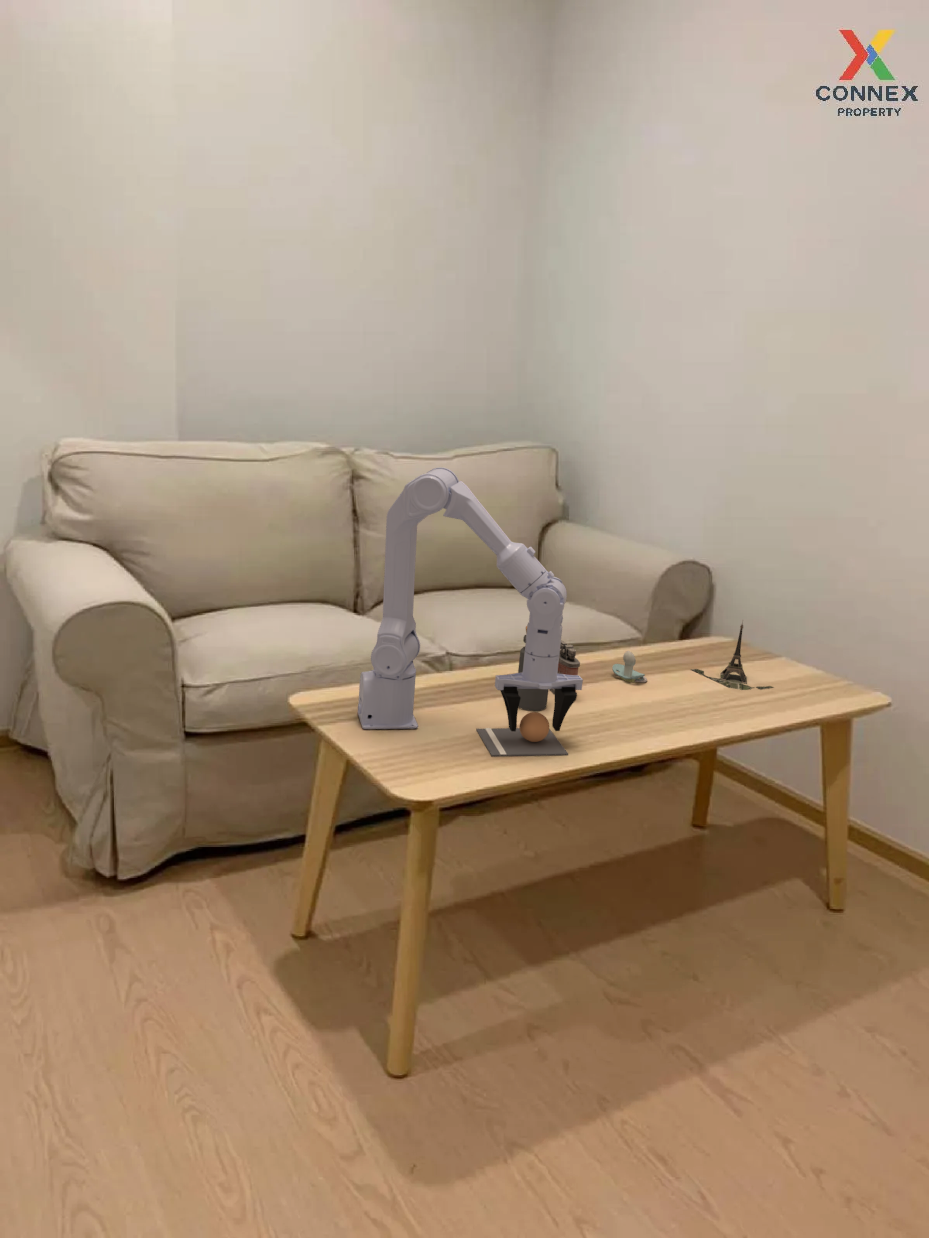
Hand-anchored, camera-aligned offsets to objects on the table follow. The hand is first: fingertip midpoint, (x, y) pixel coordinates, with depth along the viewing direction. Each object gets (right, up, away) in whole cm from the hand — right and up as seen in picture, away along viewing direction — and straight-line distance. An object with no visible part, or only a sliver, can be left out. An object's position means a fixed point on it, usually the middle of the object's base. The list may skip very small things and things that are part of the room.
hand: (534, 728), depth 170 cm
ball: (0, -2, +1) cm, 2 cm away
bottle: (+1, +2, +18) cm, 18 cm away
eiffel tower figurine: (+44, +5, +43) cm, 62 cm away
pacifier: (+22, +6, +37) cm, 44 cm away
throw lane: (-2, -2, 0) cm, 3 cm away
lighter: (+7, +4, +25) cm, 26 cm away
